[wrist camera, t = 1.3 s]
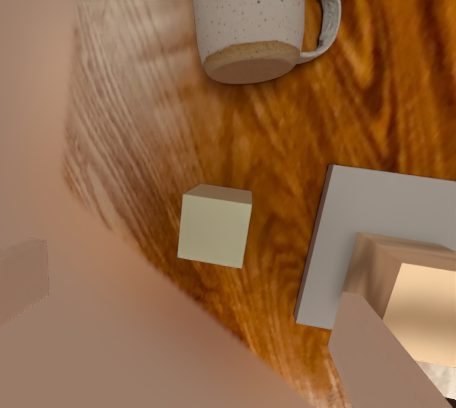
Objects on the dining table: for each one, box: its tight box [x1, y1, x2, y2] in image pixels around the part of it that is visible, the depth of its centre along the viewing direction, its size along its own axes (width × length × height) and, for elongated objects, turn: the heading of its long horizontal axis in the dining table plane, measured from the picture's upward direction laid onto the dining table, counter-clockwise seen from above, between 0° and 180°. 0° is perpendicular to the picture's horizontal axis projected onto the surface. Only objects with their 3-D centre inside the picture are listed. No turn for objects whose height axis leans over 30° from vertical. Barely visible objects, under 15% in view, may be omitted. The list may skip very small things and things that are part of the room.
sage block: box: [178, 184, 252, 268], centre depth 20 cm, size 5×5×6 cm
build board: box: [294, 164, 456, 330], centre depth 21 cm, size 16×14×1 cm
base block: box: [340, 232, 456, 368], centre depth 18 cm, size 7×7×6 cm
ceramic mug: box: [192, 0, 341, 84], centre depth 15 cm, size 11×8×8 cm
